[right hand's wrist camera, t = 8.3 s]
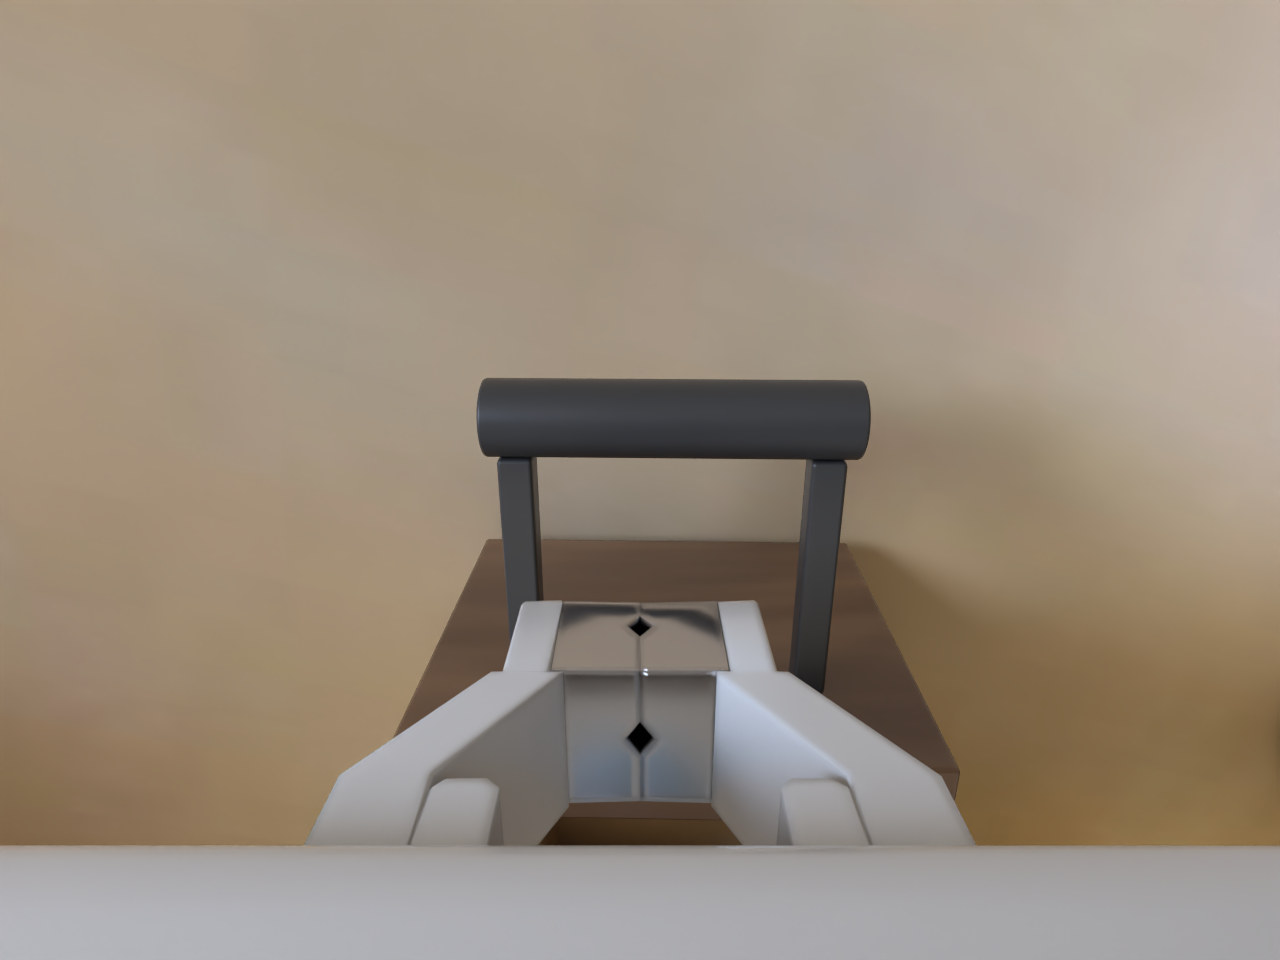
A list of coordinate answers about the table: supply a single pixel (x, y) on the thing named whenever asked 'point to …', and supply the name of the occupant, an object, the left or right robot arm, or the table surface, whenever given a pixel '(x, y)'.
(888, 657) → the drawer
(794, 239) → the table surface
